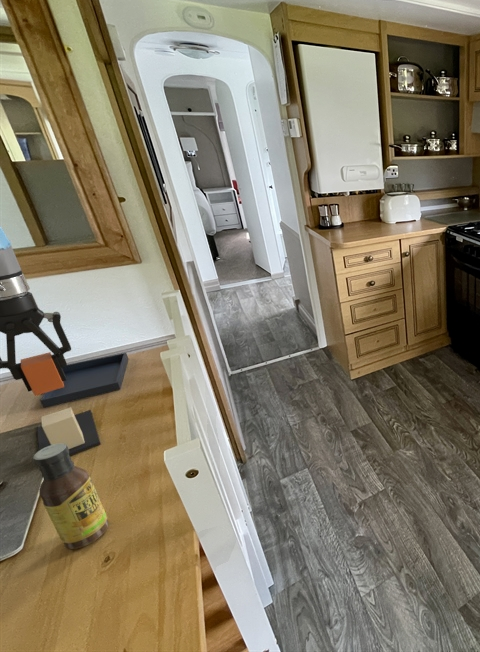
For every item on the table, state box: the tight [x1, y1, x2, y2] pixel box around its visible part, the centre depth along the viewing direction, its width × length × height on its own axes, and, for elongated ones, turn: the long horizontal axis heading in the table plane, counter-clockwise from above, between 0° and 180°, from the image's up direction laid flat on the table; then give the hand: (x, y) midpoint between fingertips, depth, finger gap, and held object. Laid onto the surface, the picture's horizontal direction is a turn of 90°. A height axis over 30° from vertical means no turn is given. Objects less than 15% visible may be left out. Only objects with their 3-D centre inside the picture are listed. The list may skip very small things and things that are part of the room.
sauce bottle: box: [32, 443, 109, 550], centre depth 67 cm, size 6×6×20 cm
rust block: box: [20, 351, 64, 397], centre depth 91 cm, size 5×5×8 cm
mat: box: [36, 409, 102, 457], centre depth 94 cm, size 10×18×1 cm, turn 48°
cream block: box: [40, 407, 85, 449], centre depth 90 cm, size 5×5×8 cm
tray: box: [39, 352, 129, 409], centre depth 115 cm, size 21×16×3 cm
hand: (47, 383), depth 92 cm, fingers closed on rust block, 5 cm apart
